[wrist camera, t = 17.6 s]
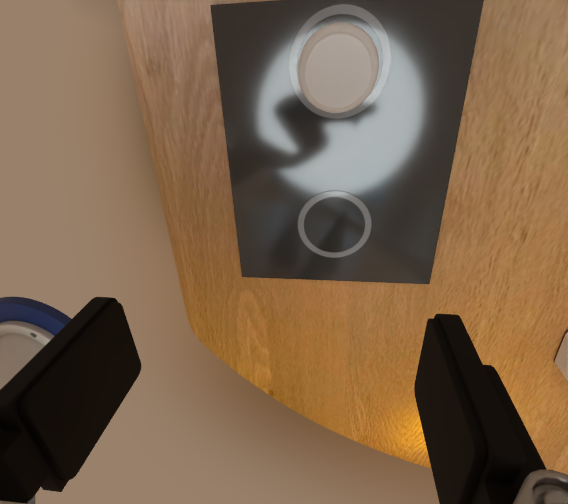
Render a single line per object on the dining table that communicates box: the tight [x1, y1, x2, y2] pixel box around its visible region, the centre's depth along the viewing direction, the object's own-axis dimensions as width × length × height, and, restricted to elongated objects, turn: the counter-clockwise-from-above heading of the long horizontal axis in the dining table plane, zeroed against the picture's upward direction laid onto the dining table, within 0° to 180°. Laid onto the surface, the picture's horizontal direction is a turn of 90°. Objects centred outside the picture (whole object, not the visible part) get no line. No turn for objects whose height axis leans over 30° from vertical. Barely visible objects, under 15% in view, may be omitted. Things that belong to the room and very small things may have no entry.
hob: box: [211, 0, 484, 284], centre depth 32 cm, size 20×25×1 cm
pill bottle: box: [298, 22, 379, 113], centre depth 24 cm, size 5×5×9 cm
